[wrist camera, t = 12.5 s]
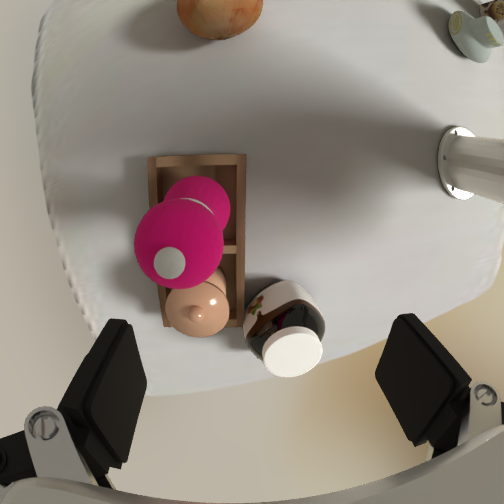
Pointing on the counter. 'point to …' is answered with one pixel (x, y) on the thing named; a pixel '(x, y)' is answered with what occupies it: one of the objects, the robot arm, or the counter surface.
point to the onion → (218, 16)
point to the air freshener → (475, 35)
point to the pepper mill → (184, 233)
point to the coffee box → (494, 12)
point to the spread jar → (284, 329)
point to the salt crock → (199, 307)
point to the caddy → (233, 258)
